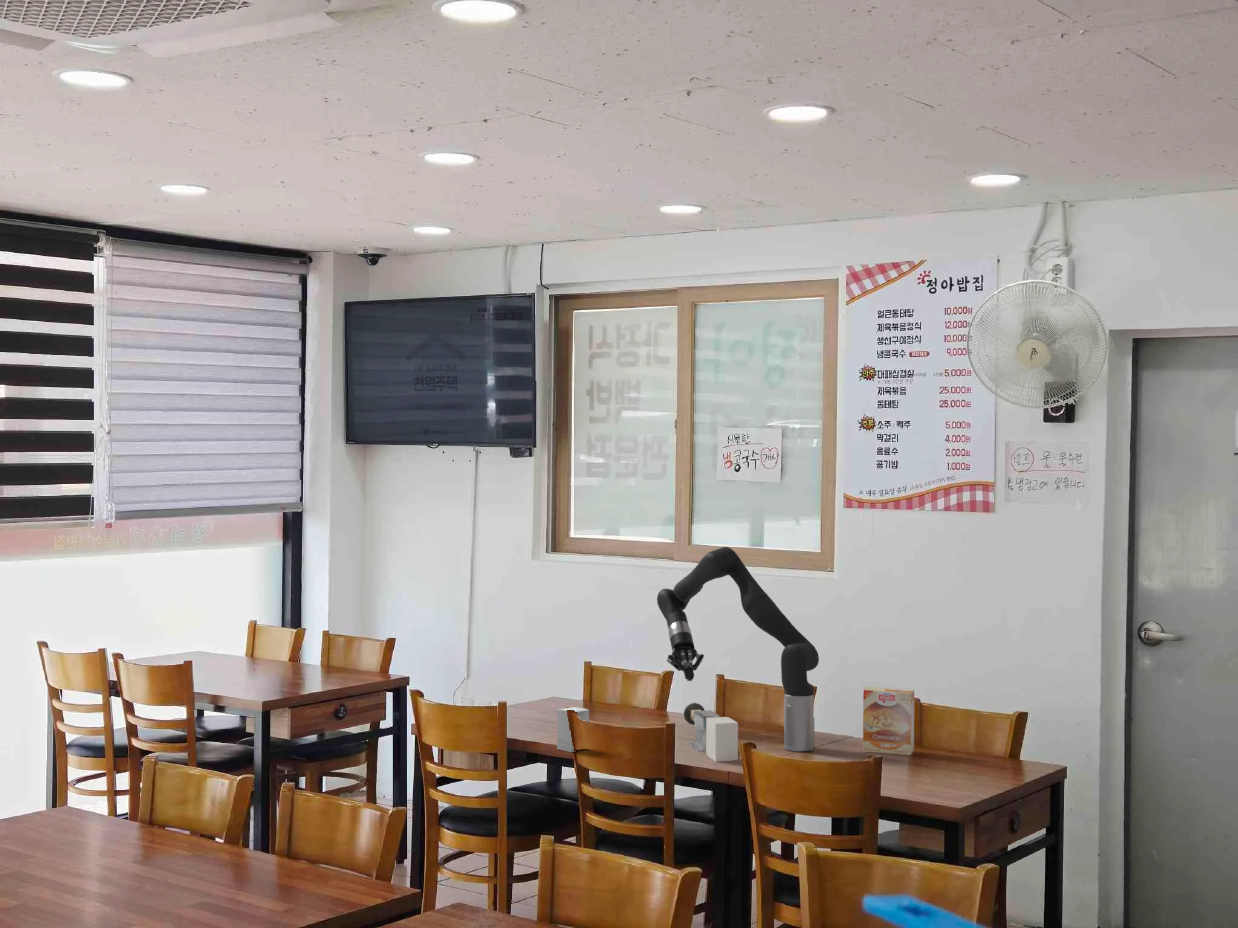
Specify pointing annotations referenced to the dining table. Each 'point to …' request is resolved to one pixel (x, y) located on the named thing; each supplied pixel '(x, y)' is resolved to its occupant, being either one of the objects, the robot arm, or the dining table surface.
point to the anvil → (701, 729)
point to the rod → (692, 712)
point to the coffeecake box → (888, 720)
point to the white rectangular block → (721, 739)
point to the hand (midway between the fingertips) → (690, 679)
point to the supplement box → (567, 727)
